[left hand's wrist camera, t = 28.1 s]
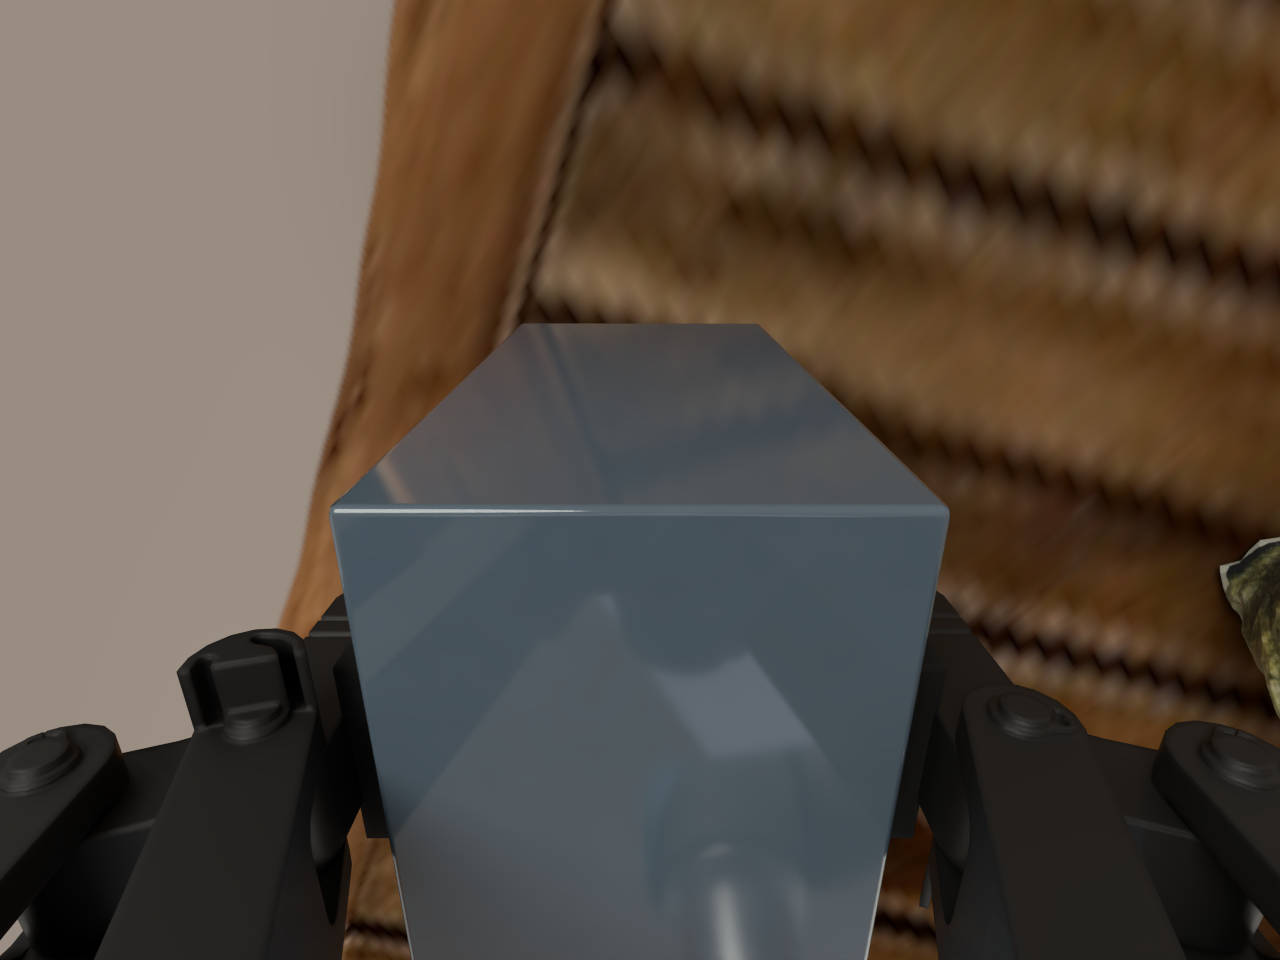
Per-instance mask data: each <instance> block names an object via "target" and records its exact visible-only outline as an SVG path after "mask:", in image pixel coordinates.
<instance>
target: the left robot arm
mask: <svg viewBox="0 0 1280 960" xmlns="http://www.w3.org/2000/svg"><path fill="white" fill-rule="evenodd" d="M177 675H178V678H179V682H180V685H181V688H182V691H183V695H184V698H185V701H186V705H187V708H188V711H189V714H190V718H191V721H192V724H193V727H194V733H193V735H192V737H191V738H187V739H184V740H180V741H177V742H172V743H167V744H163V745H158V746H153V747H149V748H144V749H139V750H135V751H130V752H126V753H122V752H121V749H120V746H119V744H118V741H117V738H116V735H115V734H114V733H113V732H112V731H110V730H109V729H108V728H106V727H105V726H101V725H92V724H79V725H73V726H66V727H59V728H56V729H52V730H49V731H46V732H44V733H43V732H42V733H40V734H37V735H34V736H31V737H29V738H27V739H25V740H24V741H22V742H20V743H18V744H16V745H14V746H12V747H10V748H8V749H6V750H4V751H2V752H1V753H0V940H1V939H2V937H3V936H4V935H5V934H6V933H7V931H8V930H9V929H10V928H11V926H12V925H13V924H14V923H15V922H16V920H17V919H18V921H19V923H20V925H21V927H22V929H23V932H22V933H21V934H20V936H19V937H18V938H17V939H16V941H15V942H14V943H13V944H12V945H11V946H10V947H9V948H8V949H7V950H6V951H5V952H4V953H3V954H2V955H1V956H0V960H342V951H343V942H344V932H345V923H346V914H347V905H348V895H349V886H350V877H351V867H352V862H351V856H350V849H349V845H348V840H347V835H348V833H349V831H350V828H351V826H352V824H353V822H354V820H355V818H356V816H357V813H358V811H359V809H360V807H361V812H362V817H363V822H364V826H365V831H366V836H367V838H389V835H388V830H387V825H386V819H385V814H384V809H383V803H382V798H381V792H380V787H379V782H378V776H377V771H376V766H375V760H374V755H373V749H372V744H371V739H370V733H369V728H368V723H367V717H366V712H365V706H364V701H363V696H362V690H361V685H360V680H359V674H358V669H357V664H356V658H355V653H354V647H353V642H352V637H351V631H350V626H349V621H348V615H347V610H346V604H345V599H344V594H342V595H340V596H338V597H337V598H336V599H335V600H334V601H333V603H332V604H331V605H330V607H329V608H328V609H327V610H326V612H325V613H324V614H323V616H322V617H321V621H318V622H317V623H316V624H315V626H314V627H313V628H312V630H311V631H310V632H309V637H305V639H304V640H303V639H302V638H301V637H300V636H298V635H297V634H296V633H294V632H291V631H287V630H282V629H277V628H276V629H257V630H251V631H247V632H243V633H239V634H235V635H231V636H228V637H226V638H223V639H221V640H219V641H216V642H214V643H212V644H209V645H207V646H206V647H204V648H203V649H201V650H200V651H198V652H197V653H195V654H193V655H192V656H190V657H189V658H188V659H187V660H186V661H185V663H184V664H183V665H182V666H181V667H180V668H179V669H178V671H177ZM919 805H920V807H921V809H922V811H923V813H924V815H925V817H926V819H927V822H928V824H929V826H930V828H931V830H932V832H933V834H934V835H933V840H932V845H931V849H930V854H929V858H928V863H927V868H926V872H925V877H924V881H923V886H922V891H921V897H920V903H919V906H920V907H924V908H929V903H930V899H931V894H932V903H933V912H934V921H935V931H936V940H937V949H938V958H939V960H1280V953H1279V952H1278V951H1277V950H1276V949H1275V948H1274V947H1273V946H1272V945H1271V944H1270V943H1269V942H1268V941H1267V939H1266V938H1265V937H1264V936H1263V934H1262V933H1261V932H1260V931H1259V929H1258V926H1259V924H1260V922H1261V920H1262V917H1263V916H1264V917H1265V918H1266V920H1267V921H1268V922H1269V923H1270V924H1271V926H1272V927H1273V928H1274V929H1275V930H1276V932H1277V933H1278V934H1279V935H1280V749H1279V748H1277V747H1275V746H1273V745H1271V744H1269V743H1267V742H1265V741H1263V740H1261V739H1259V738H1257V737H1255V736H1254V735H1252V734H1250V733H1247V732H1244V731H1242V730H1239V729H1238V730H1237V729H1234V728H1233V727H1229V726H1225V725H1221V724H1215V723H1209V722H1202V721H1187V722H1179V723H1175V724H1174V725H1173V726H1171V727H1170V728H1169V729H1167V730H1166V731H1165V734H1164V736H1163V739H1162V742H1161V745H1160V747H1159V750H1155V749H1150V748H1145V747H1141V746H1136V745H1131V744H1127V743H1122V742H1117V741H1113V740H1108V739H1103V738H1099V737H1096V736H1092V735H1089V734H1088V733H1087V731H1086V729H1085V728H1084V726H1083V725H1082V724H1081V722H1080V721H1079V720H1078V718H1077V717H1076V715H1075V714H1074V713H1072V712H1071V711H1070V710H1068V709H1067V708H1066V707H1064V706H1063V705H1062V704H1061V703H1059V702H1058V701H1057V700H1054V699H1052V698H1050V697H1048V696H1046V695H1044V694H1042V693H1040V692H1038V691H1036V690H1033V689H1029V688H1026V687H1022V686H1018V685H1014V684H1013V683H1012V682H1011V680H1010V679H1009V678H1008V677H1007V675H1006V674H1005V673H1004V672H1003V670H1002V669H1001V668H1000V666H999V665H998V664H997V663H996V661H995V660H994V659H993V658H992V656H991V655H990V654H989V653H988V651H987V650H986V649H985V647H984V646H983V645H982V644H981V642H980V641H979V640H978V639H977V637H976V636H975V635H974V634H971V630H970V628H969V627H968V626H967V625H966V623H965V622H964V621H963V620H962V618H959V614H958V613H957V612H956V611H955V609H954V608H953V607H952V606H951V604H950V603H949V602H948V600H947V599H946V598H945V597H944V596H943V595H942V594H940V593H939V592H937V591H936V594H935V600H934V605H933V610H932V616H931V621H930V627H929V632H928V637H927V643H926V648H925V653H924V659H923V664H922V670H921V675H920V680H919V686H918V691H917V696H916V702H915V707H914V712H913V718H912V723H911V729H910V734H909V739H908V745H907V750H906V755H905V761H904V766H903V772H902V777H901V782H900V788H899V793H898V798H897V804H896V809H895V815H894V820H893V825H892V831H891V836H890V838H913V834H914V829H915V824H916V819H917V814H918V809H919Z"/></svg>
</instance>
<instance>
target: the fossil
mask: <svg viewBox="0 0 1280 960" xmlns="http://www.w3.org/2000/svg"><path fill="white" fill-rule="evenodd" d="M1220 574H1221V579H1222V583H1223V588H1224V591H1225V593H1226V596H1227V599H1228V601H1229V603H1230V605H1231V606H1232V608H1233V609H1234V610H1235V611H1236V612H1237V613H1238V614H1239V615H1240V617H1241V619H1242V629H1241V632H1242V634H1243V637H1244V639H1245V641H1246V643H1247V645H1248V648H1249V650H1250V652H1251V654H1252V656H1253V658H1254V661H1255V663H1256V666H1257V667H1258V669H1259V670H1260V671H1261V672H1262V673H1263V674H1264V676H1265V679H1266V684H1267V687H1268V690H1269V693H1270V696H1271V699H1272V702H1273V705H1274V708H1275V711H1276V713H1277V715H1278V717H1279V719H1280V537H1279V538H1272V539H1265V540H1260V541H1259V542H1258V543H1257V544H1256V545H1255V546H1253V547H1252V548H1251V549H1250V550H1249V551H1248V552H1247V554H1246V555H1245V556H1244V557H1243V559H1242V560H1241V561H1237V562H1233V563H1229V564H1225V565H1222V566H1220Z"/></svg>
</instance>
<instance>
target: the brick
mask: <svg viewBox="0 0 1280 960" xmlns="http://www.w3.org/2000/svg"><path fill="white" fill-rule="evenodd" d="M329 518H330V524H331V529H332V535H333V540H334V545H335V551H336V556H337V561H338V567H339V572H340V578H341V583H342V588H343V594H344V599H345V604H346V610H347V615H348V621H349V626H350V631H351V637H352V642H353V647H354V653H355V658H356V664H357V669H358V674H359V680H360V685H361V690H362V696H363V701H364V706H365V712H366V717H367V723H368V728H369V733H370V739H371V744H372V749H373V755H374V760H375V766H376V771H377V776H378V782H379V787H380V792H381V798H382V803H383V809H384V814H385V819H386V825H387V830H388V835H389V841H390V846H391V852H392V857H393V862H394V868H395V873H396V878H397V884H398V889H399V894H400V900H401V905H402V911H403V916H404V921H405V927H406V932H407V937H408V943H409V948H410V954H411V959H412V960H868V954H869V949H870V943H871V938H872V933H873V927H874V922H875V917H876V911H877V906H878V900H879V895H880V890H881V884H882V879H883V874H884V868H885V863H886V857H887V852H888V847H889V841H890V836H891V831H892V825H893V820H894V815H895V809H896V804H897V798H898V793H899V788H900V782H901V777H902V772H903V766H904V761H905V755H906V750H907V745H908V739H909V734H910V729H911V723H912V718H913V712H914V707H915V702H916V696H917V691H918V686H919V680H920V675H921V670H922V664H923V659H924V653H925V648H926V643H927V637H928V632H929V627H930V621H931V616H932V610H933V605H934V600H935V594H936V589H937V584H938V578H939V573H940V567H941V562H942V557H943V551H944V546H945V541H946V535H947V530H948V524H949V519H950V512H949V508H948V506H947V505H946V504H945V503H944V502H943V501H942V500H941V499H940V498H939V497H938V496H937V495H936V494H935V493H934V492H933V491H932V490H931V489H929V488H928V487H927V486H926V485H925V484H924V483H923V482H922V481H921V480H920V479H919V478H918V477H917V476H916V475H915V474H914V473H913V472H912V471H911V470H910V469H909V468H908V467H907V466H906V465H904V464H903V463H902V462H901V461H900V460H899V459H898V458H897V457H896V456H895V455H894V454H893V453H892V452H891V451H890V450H889V449H888V448H887V447H886V446H885V445H884V444H883V443H882V442H881V441H879V440H878V439H877V438H876V437H875V436H874V435H873V434H872V433H871V432H870V431H869V430H868V429H867V428H866V427H865V426H864V425H863V424H862V423H861V422H860V421H859V420H858V419H857V418H856V417H855V416H853V415H852V414H851V413H850V412H849V411H848V410H847V409H846V408H845V407H844V406H843V405H842V404H841V403H840V402H839V401H838V400H837V399H836V398H835V397H834V396H833V395H832V394H831V393H830V392H828V391H827V390H826V389H825V388H824V387H823V386H822V385H821V384H820V383H819V382H818V381H817V380H816V379H815V378H814V377H813V376H812V375H811V374H810V373H809V372H808V371H807V370H806V369H805V368H803V367H802V366H801V365H800V364H799V363H798V362H797V361H796V360H795V359H794V358H793V357H792V356H791V355H790V354H789V353H788V352H787V351H786V350H785V349H784V348H783V347H782V346H781V345H780V344H778V343H777V342H776V341H775V340H774V339H773V338H772V337H771V336H770V335H769V334H768V333H767V332H766V331H765V330H764V329H763V328H762V327H761V326H760V325H758V324H522V325H520V326H519V327H518V328H517V329H516V330H515V331H514V332H513V333H512V334H511V335H510V336H509V337H508V338H507V339H506V340H505V341H504V342H502V343H501V344H500V345H499V346H498V347H497V348H496V349H495V350H494V351H493V352H492V353H491V354H490V355H489V356H488V357H487V358H486V359H485V360H484V361H483V362H481V363H480V364H479V365H478V366H477V367H476V368H475V369H474V370H473V371H472V372H471V373H470V374H469V375H468V376H467V377H466V378H465V379H464V380H463V381H462V382H461V383H459V384H458V385H457V386H456V387H455V388H454V389H453V390H452V391H451V392H450V393H449V394H448V395H447V396H446V397H445V398H444V399H443V400H442V401H441V402H440V403H439V404H437V405H436V406H435V407H434V408H433V409H432V410H431V411H430V412H429V413H428V414H427V415H426V416H425V417H424V418H423V419H422V420H421V421H420V422H419V423H418V424H417V425H415V426H414V427H413V428H412V429H411V430H410V431H409V432H408V433H407V434H406V435H405V436H404V437H403V438H402V439H401V440H400V441H399V442H398V443H397V444H396V445H395V446H393V447H392V448H391V449H390V450H389V451H388V452H387V453H386V454H385V455H384V456H383V457H382V458H381V459H380V460H379V461H378V462H377V463H376V464H375V465H374V466H372V467H371V468H370V469H369V470H368V471H367V472H366V473H365V474H364V475H363V476H362V477H361V478H360V479H359V480H358V481H357V482H356V483H355V484H354V485H353V486H352V487H350V488H349V489H348V490H347V491H346V492H345V493H344V494H343V495H342V496H341V497H340V498H339V499H338V500H337V501H336V502H335V503H334V504H333V505H332V506H331V508H330V512H329Z"/></svg>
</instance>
